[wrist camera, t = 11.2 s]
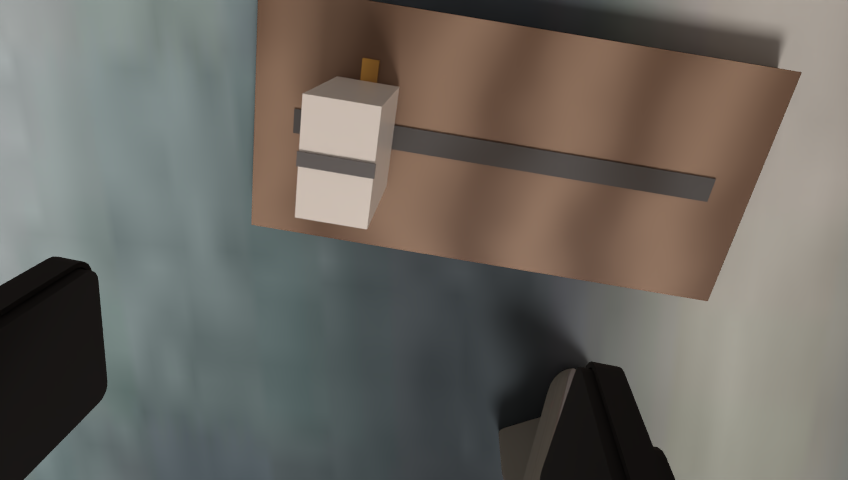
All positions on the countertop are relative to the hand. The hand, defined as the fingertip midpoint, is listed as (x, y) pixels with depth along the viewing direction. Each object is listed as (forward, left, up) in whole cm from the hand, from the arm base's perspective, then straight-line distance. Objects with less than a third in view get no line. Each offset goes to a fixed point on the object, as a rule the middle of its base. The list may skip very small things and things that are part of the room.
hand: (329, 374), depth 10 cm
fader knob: (+3, -1, -18) cm, 18 cm away
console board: (-4, -1, -20) cm, 21 cm away
